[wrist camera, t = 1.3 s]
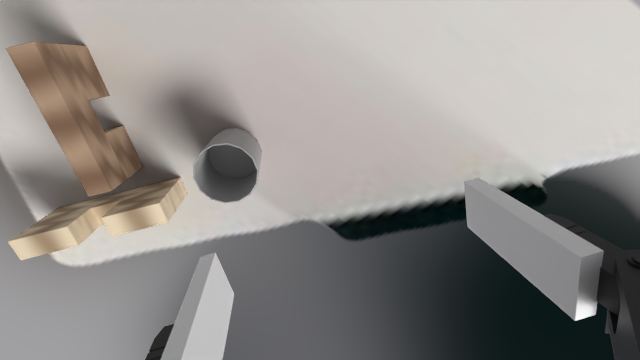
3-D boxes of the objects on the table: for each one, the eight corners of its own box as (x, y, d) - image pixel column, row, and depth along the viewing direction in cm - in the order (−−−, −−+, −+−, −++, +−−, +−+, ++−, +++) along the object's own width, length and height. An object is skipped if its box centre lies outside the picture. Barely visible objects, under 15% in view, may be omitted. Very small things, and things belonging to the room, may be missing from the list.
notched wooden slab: (67, 224, 51) (20, 260, 42) (57, 208, 50) (7, 241, 41) (187, 193, 52) (168, 222, 43) (180, 177, 51) (159, 203, 42)
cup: (229, 186, 52) (218, 213, 43) (197, 146, 49) (179, 166, 40) (271, 160, 52) (270, 182, 42) (242, 118, 49) (233, 131, 39)
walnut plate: (142, 166, 49) (111, 191, 40) (124, 171, 49) (88, 196, 40) (86, 46, 43) (33, 41, 33) (64, 51, 43) (5, 48, 33)
